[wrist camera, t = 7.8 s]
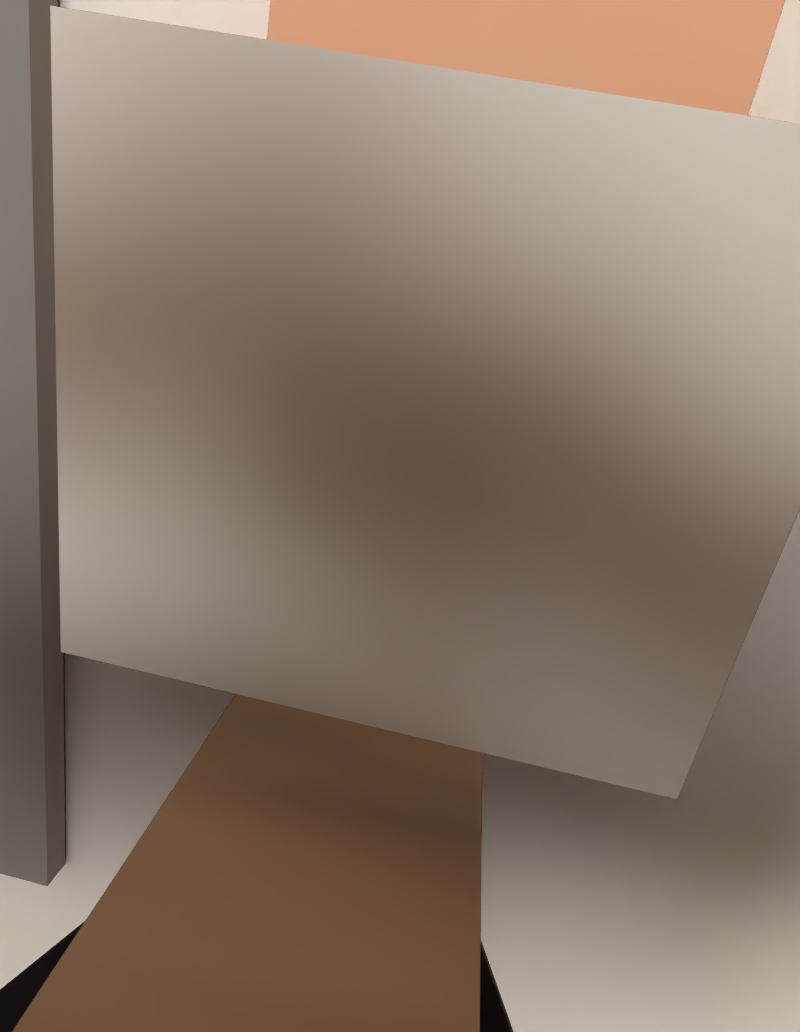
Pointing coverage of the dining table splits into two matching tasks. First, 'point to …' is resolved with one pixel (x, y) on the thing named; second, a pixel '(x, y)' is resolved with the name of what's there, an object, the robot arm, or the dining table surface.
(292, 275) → the turner
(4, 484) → the mat
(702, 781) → the dining table surface
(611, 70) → the tile
